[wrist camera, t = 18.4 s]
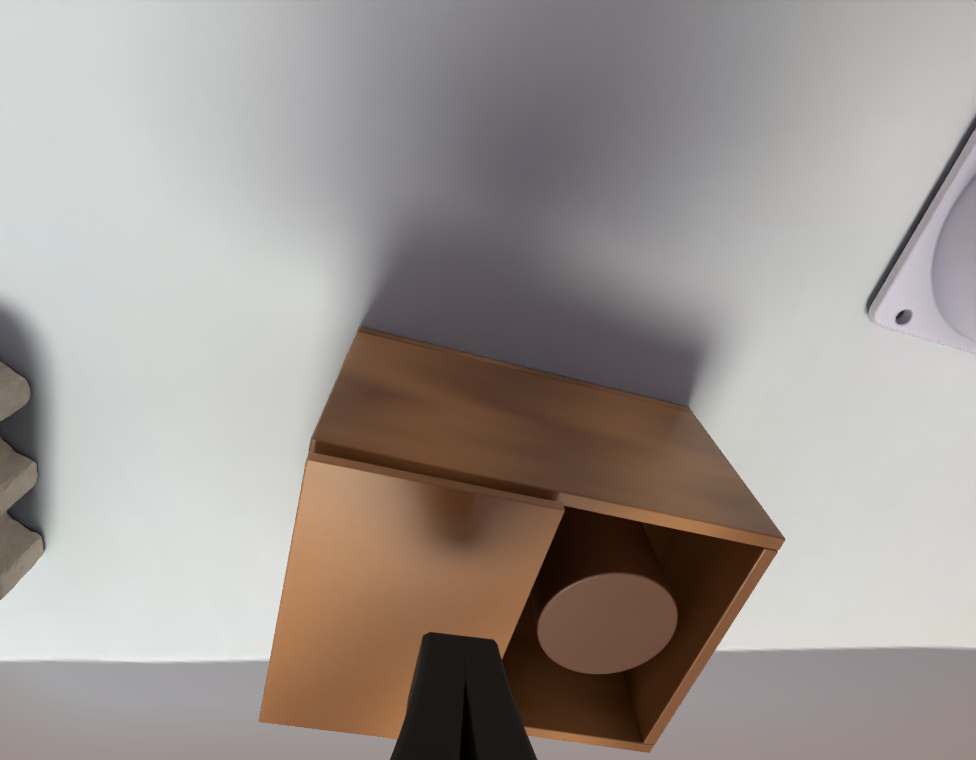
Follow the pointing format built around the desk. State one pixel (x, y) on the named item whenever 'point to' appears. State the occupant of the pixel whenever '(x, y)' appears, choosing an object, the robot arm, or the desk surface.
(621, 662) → the brown cylinder
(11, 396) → the egg carton
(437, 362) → the brown box
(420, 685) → the robot arm
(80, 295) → the desk surface
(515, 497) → the flap
